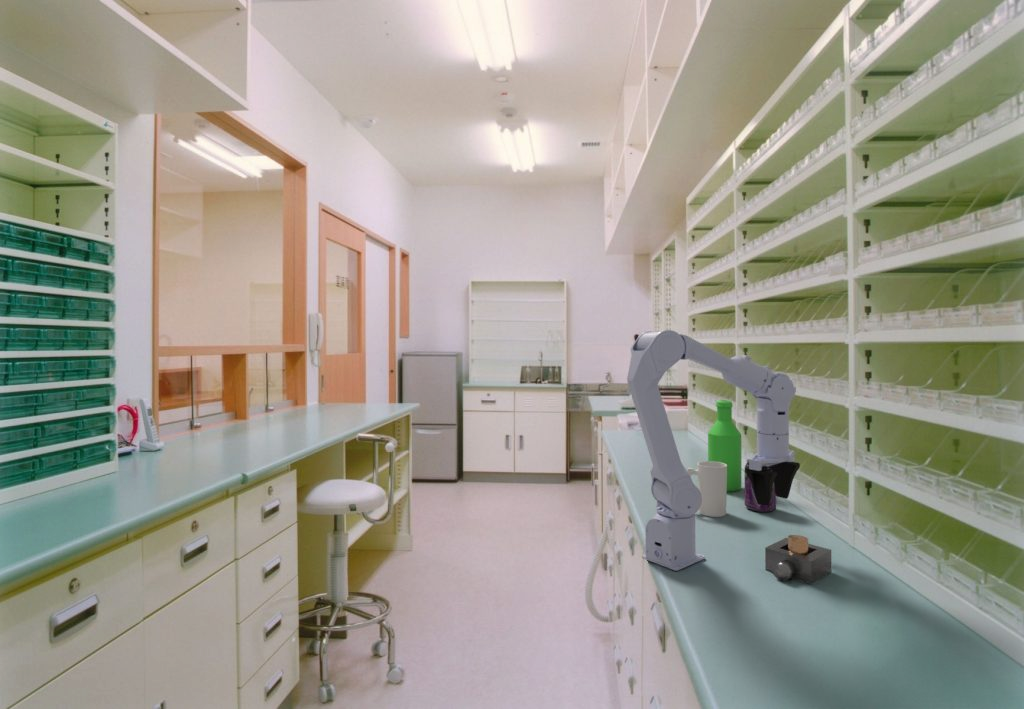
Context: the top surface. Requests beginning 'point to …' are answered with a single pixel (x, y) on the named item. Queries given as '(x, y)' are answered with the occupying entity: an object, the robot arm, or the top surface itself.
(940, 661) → the top surface
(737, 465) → the bottle
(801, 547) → the tapered valve plug
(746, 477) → the beverage can
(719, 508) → the mug
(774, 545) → the valve body
